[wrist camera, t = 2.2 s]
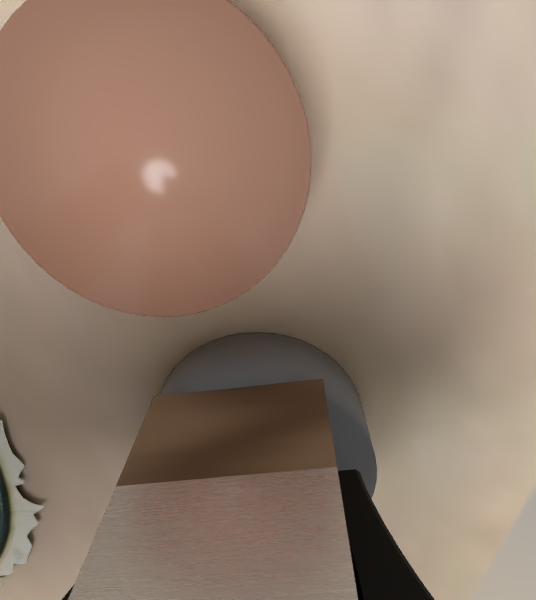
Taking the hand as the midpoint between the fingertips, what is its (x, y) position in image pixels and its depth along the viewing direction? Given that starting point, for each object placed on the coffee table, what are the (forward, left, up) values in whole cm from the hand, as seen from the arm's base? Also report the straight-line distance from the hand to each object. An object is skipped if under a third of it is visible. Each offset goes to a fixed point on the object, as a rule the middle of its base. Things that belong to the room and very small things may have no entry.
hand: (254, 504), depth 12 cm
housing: (0, 0, -1) cm, 1 cm away
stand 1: (+9, +1, -3) cm, 10 cm away
